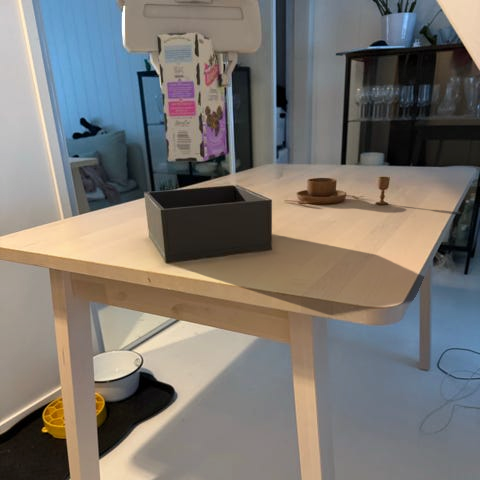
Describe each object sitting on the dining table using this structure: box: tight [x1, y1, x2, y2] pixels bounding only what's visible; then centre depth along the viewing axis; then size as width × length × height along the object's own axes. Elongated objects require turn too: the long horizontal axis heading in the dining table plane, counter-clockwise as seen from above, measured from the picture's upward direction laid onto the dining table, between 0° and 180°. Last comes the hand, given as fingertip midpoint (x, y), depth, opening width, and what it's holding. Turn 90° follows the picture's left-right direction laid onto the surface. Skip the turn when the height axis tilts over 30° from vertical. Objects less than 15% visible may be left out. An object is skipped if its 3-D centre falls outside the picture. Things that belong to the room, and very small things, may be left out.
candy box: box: [157, 32, 228, 163], centre depth 70 cm, size 14×6×16 cm, turn 167°
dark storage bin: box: [143, 184, 273, 264], centre depth 78 cm, size 17×17×8 cm
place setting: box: [283, 176, 391, 206], centre depth 108 cm, size 18×20×6 cm
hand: (196, 87), depth 70 cm, fingers closed on candy box, 8 cm apart
